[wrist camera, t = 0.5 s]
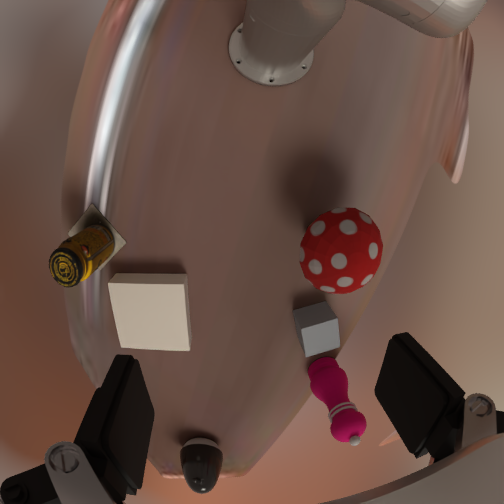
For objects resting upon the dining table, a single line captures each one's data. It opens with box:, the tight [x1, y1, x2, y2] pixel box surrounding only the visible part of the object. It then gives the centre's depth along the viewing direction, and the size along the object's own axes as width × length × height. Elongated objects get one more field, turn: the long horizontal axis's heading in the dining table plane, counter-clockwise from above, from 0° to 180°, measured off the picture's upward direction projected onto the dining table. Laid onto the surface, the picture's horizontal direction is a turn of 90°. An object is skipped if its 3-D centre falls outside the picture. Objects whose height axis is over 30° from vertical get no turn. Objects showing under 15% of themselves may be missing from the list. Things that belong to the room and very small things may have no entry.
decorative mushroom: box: [300, 208, 383, 294], centre depth 37 cm, size 11×11×15 cm
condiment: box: [49, 204, 126, 287], centre depth 35 cm, size 7×8×12 cm
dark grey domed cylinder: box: [180, 438, 223, 494], centre depth 51 cm, size 10×10×15 cm
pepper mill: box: [308, 357, 366, 446], centre depth 43 cm, size 7×7×20 cm
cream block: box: [108, 273, 192, 351], centre depth 43 cm, size 12×12×4 cm
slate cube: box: [293, 301, 340, 357], centre depth 46 cm, size 6×6×6 cm
